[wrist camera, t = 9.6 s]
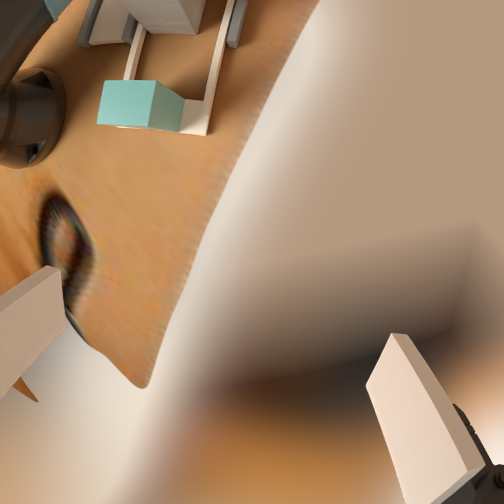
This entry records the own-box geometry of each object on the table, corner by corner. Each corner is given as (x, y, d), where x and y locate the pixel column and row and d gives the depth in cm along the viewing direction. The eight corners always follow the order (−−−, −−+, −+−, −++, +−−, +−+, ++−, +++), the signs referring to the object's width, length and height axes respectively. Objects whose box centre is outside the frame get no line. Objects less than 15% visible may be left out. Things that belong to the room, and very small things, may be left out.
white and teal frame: (119, 127, 31) (69, 123, 21) (158, -21, 24) (130, -62, 14) (206, 135, 32) (183, 130, 22) (242, -19, 25) (237, -68, 14)
